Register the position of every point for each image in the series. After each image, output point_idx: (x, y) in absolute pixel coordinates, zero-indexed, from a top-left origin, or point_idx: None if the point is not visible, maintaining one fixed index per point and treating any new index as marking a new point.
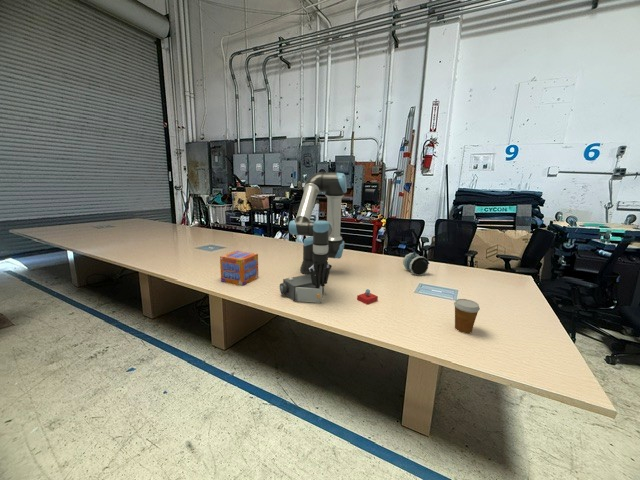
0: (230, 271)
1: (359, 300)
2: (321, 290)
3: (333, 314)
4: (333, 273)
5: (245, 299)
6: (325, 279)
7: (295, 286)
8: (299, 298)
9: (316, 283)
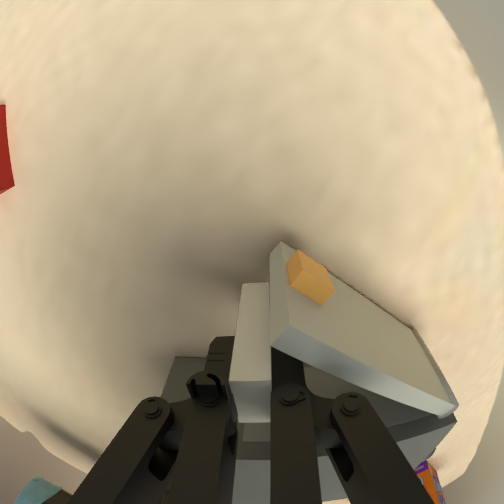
0: (440, 493)
1: (8, 165)
2: (245, 339)
3: (287, 11)
4: (81, 443)
5: (497, 389)
6: (147, 457)
7: (445, 422)
8: (411, 338)
9: (347, 429)
